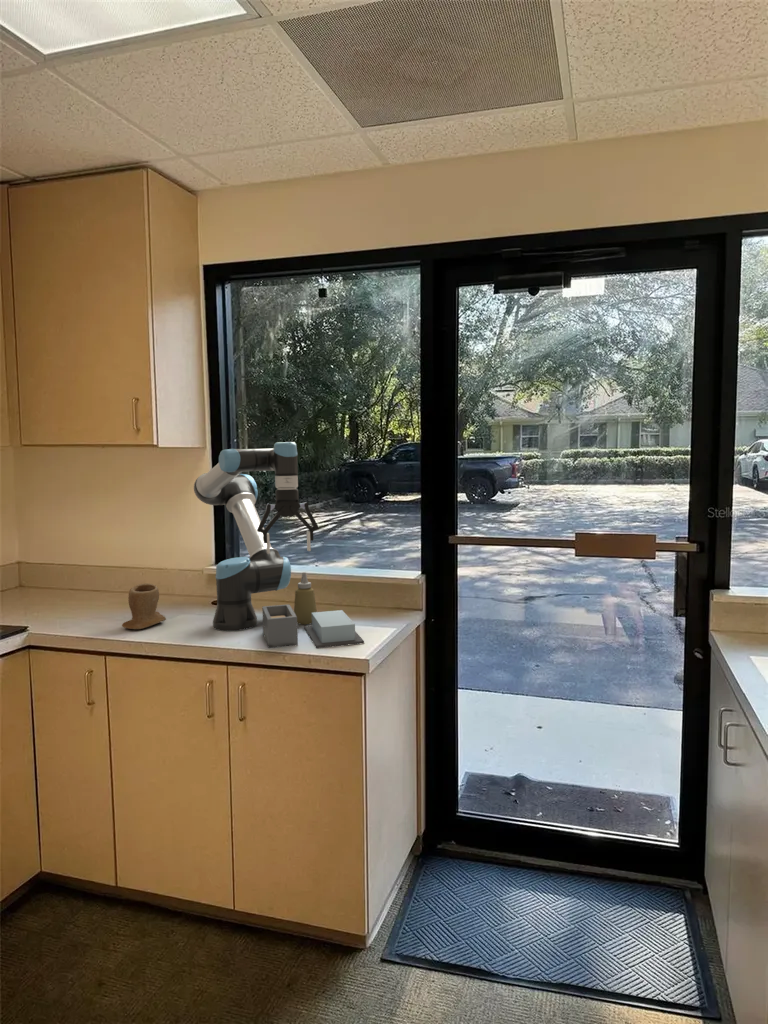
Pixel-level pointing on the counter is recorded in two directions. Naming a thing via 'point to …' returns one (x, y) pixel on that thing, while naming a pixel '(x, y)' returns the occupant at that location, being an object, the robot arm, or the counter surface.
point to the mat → (330, 644)
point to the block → (333, 626)
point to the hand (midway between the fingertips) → (288, 551)
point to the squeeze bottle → (304, 601)
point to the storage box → (280, 626)
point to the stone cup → (143, 607)
